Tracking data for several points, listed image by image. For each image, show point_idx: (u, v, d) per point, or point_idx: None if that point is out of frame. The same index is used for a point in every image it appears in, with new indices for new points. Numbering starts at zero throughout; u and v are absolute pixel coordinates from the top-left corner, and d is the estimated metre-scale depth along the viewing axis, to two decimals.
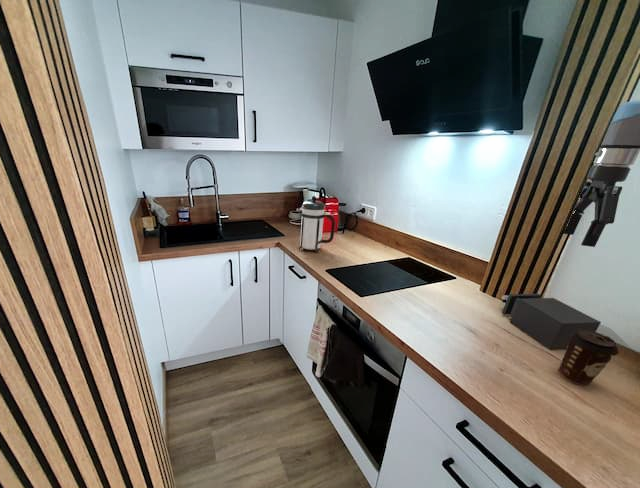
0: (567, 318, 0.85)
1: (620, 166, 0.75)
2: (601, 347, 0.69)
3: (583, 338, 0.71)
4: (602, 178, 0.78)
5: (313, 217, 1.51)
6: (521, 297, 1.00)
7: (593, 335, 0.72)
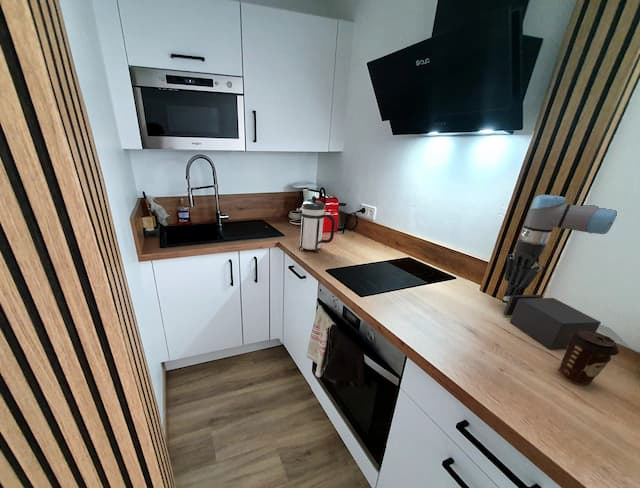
0: (567, 318, 0.85)
1: (542, 244, 0.95)
2: (601, 347, 0.69)
3: (583, 338, 0.71)
4: (531, 253, 0.96)
5: (313, 217, 1.51)
6: (523, 298, 1.00)
7: (593, 335, 0.72)
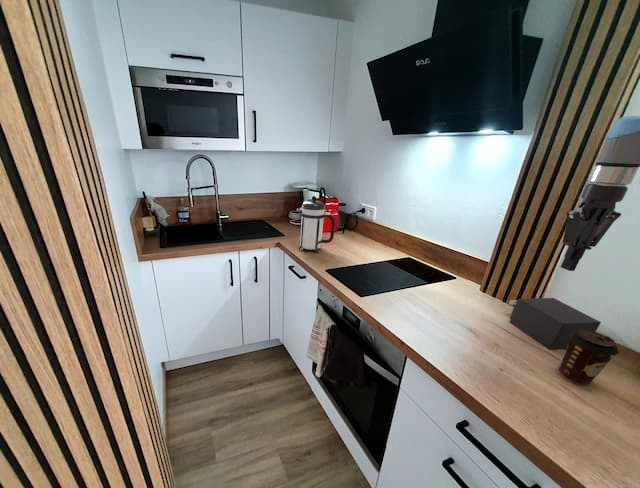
0: (567, 318, 0.85)
1: (597, 184, 0.72)
2: (601, 347, 0.69)
3: (583, 338, 0.71)
4: (582, 195, 0.76)
5: (313, 217, 1.51)
6: None
7: (593, 335, 0.72)
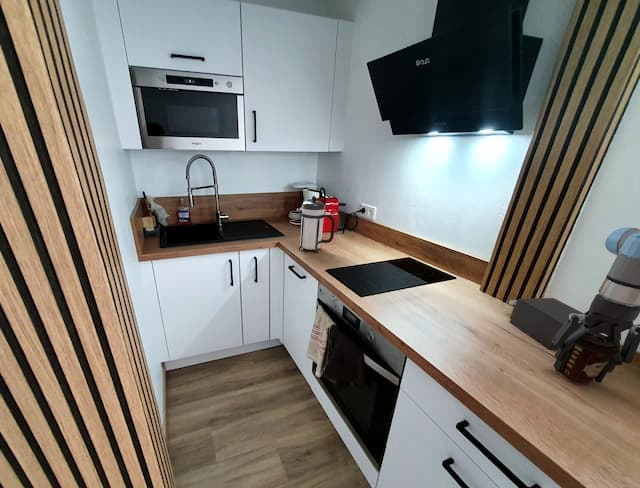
0: None
1: (602, 297, 0.67)
2: (601, 347, 0.69)
3: (583, 338, 0.71)
4: (591, 304, 0.71)
5: (313, 217, 1.51)
6: None
7: (593, 335, 0.72)
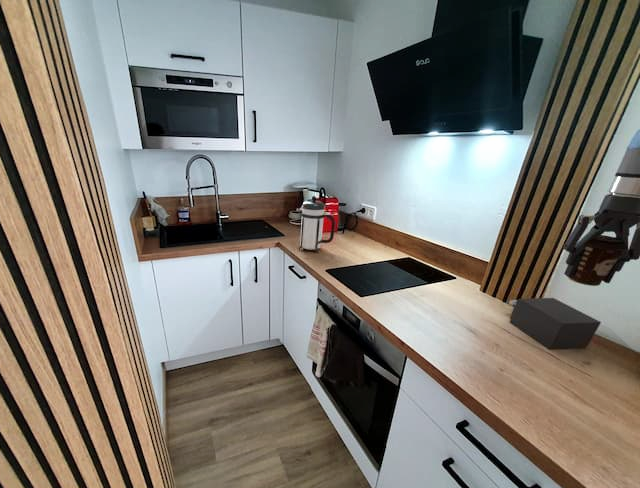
0: (567, 318, 0.85)
1: (612, 194, 0.71)
2: (610, 243, 0.73)
3: (593, 238, 0.75)
4: (600, 205, 0.75)
5: (313, 217, 1.51)
6: None
7: (602, 237, 0.76)
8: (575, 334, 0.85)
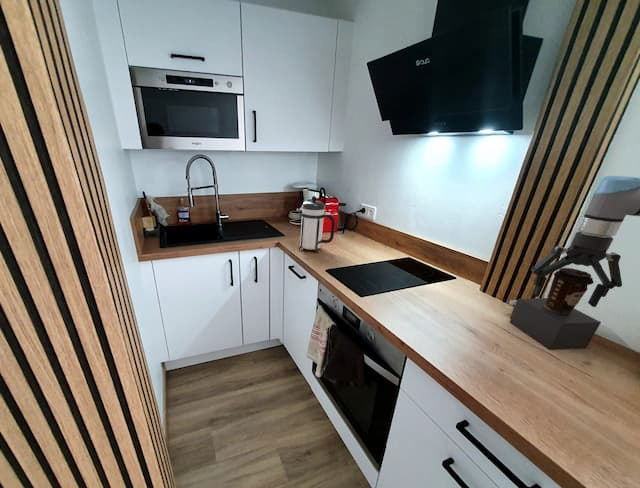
0: (567, 318, 0.85)
1: (581, 232, 0.81)
2: (578, 278, 0.82)
3: (564, 272, 0.85)
4: (572, 241, 0.84)
5: (313, 217, 1.51)
6: None
7: (573, 271, 0.86)
8: (575, 334, 0.85)
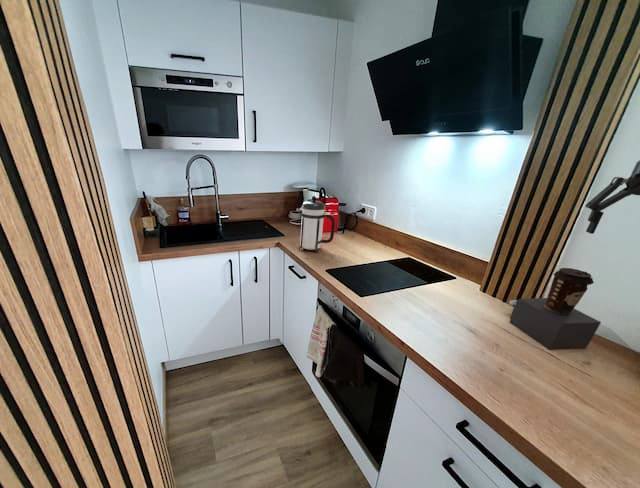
0: (567, 318, 0.85)
1: None
2: (578, 278, 0.82)
3: (564, 272, 0.85)
4: None
5: (313, 217, 1.51)
6: None
7: (573, 271, 0.86)
8: (575, 334, 0.85)
